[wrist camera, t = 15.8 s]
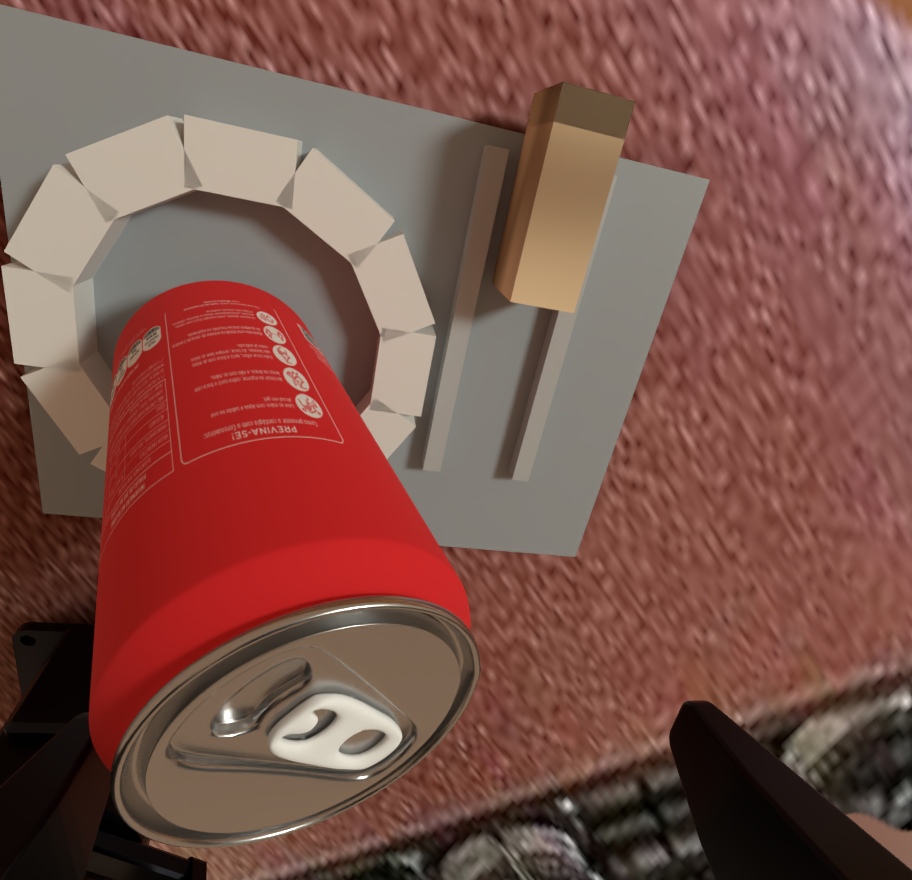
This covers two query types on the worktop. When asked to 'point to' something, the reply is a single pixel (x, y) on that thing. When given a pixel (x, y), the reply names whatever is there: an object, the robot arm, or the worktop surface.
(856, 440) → the worktop surface
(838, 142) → the worktop surface
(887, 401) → the worktop surface
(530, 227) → the bar
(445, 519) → the dock board
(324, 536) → the beverage can
